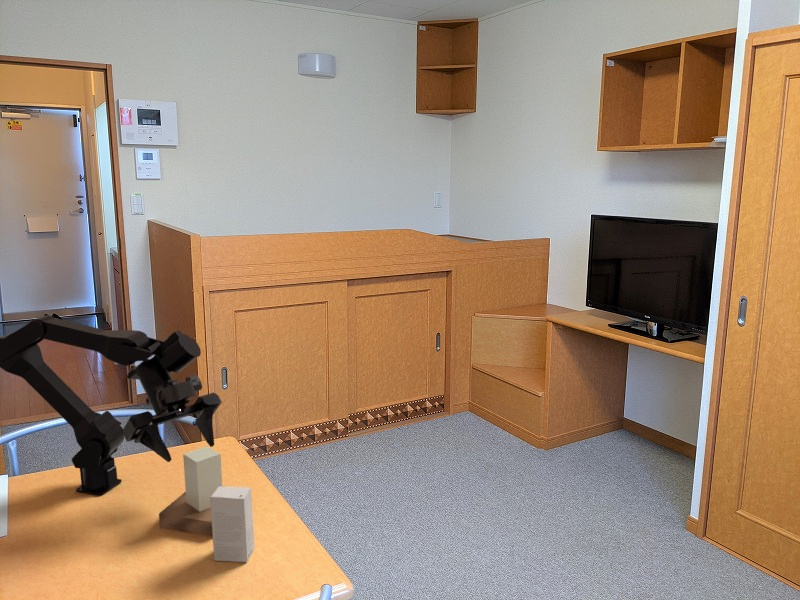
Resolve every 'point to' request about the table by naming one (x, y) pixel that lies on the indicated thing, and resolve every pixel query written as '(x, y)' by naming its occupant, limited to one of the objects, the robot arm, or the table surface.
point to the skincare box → (232, 524)
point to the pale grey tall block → (201, 476)
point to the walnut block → (186, 518)
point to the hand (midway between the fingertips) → (191, 453)
